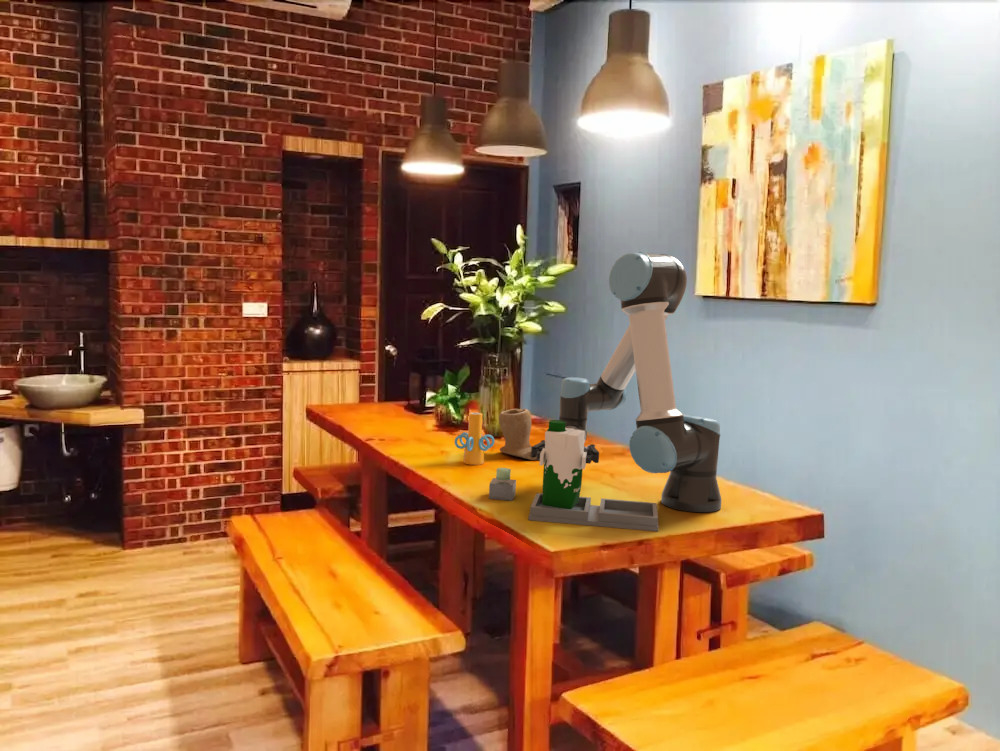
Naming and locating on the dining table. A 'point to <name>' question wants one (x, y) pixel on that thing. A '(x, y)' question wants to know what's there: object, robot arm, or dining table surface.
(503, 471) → the button
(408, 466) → the dining table surface
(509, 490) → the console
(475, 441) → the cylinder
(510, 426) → the brown boot
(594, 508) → the pocket tray
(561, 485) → the soya milk
